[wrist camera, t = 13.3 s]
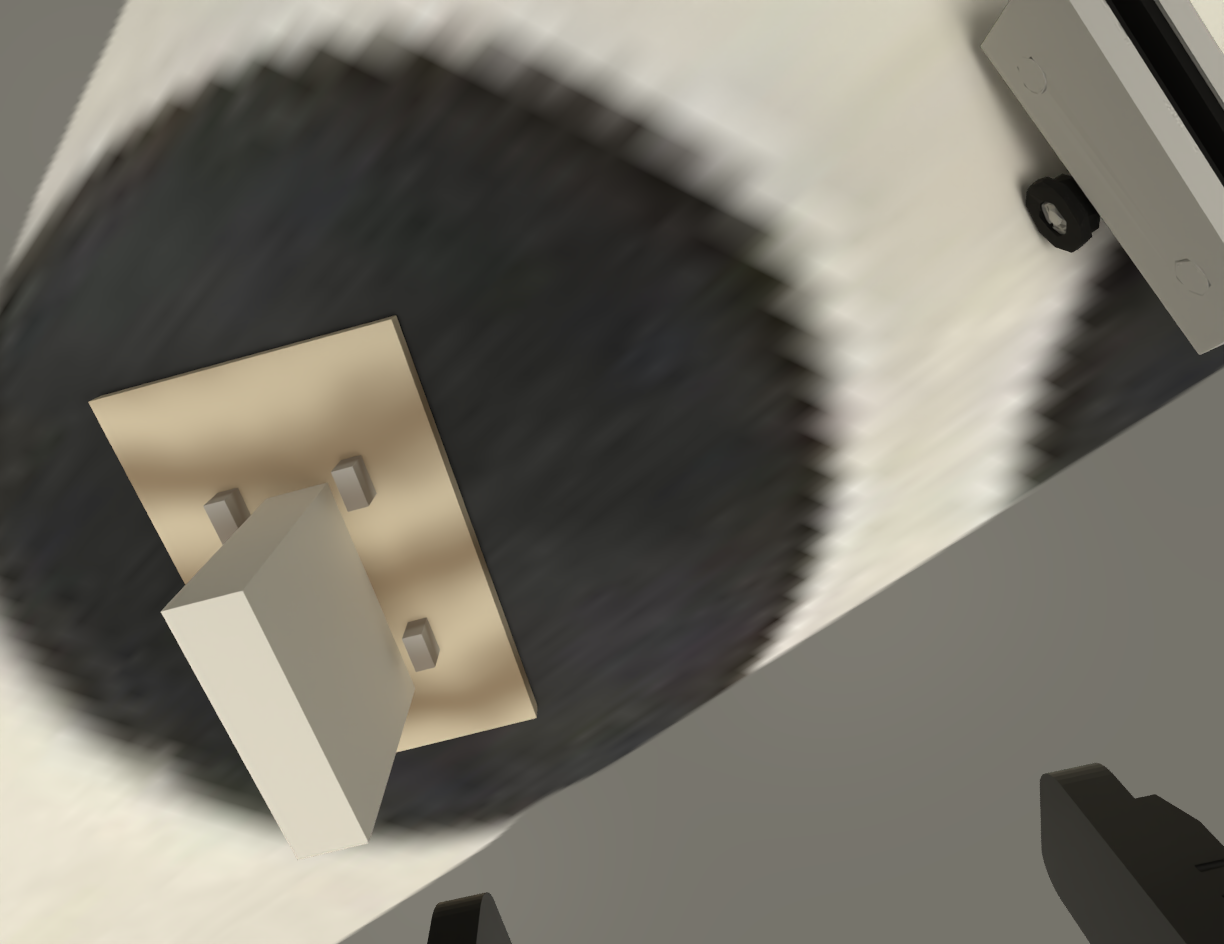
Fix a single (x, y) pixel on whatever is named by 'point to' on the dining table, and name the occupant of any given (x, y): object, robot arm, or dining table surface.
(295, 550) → the door panel
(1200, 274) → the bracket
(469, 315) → the dining table surface
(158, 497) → the light brown flat board
